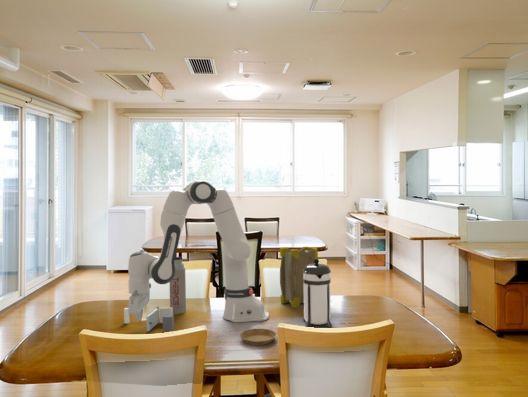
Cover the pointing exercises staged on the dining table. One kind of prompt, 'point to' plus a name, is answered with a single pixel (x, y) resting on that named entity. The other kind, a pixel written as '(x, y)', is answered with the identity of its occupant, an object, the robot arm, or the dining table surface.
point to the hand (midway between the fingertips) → (139, 318)
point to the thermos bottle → (178, 288)
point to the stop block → (168, 322)
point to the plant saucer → (258, 336)
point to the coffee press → (317, 294)
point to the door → (152, 319)
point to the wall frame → (160, 313)
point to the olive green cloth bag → (294, 273)
